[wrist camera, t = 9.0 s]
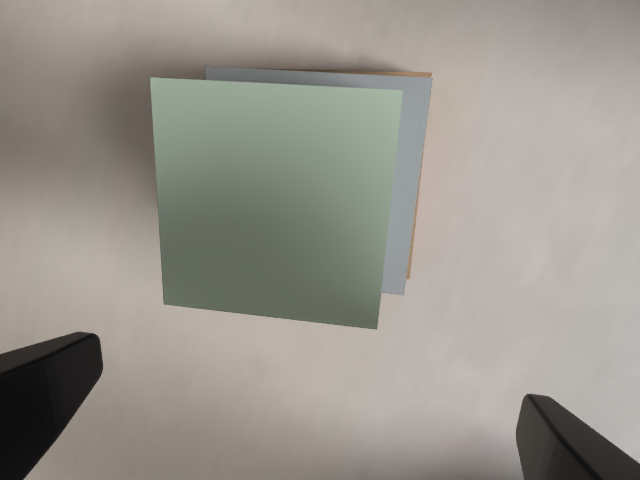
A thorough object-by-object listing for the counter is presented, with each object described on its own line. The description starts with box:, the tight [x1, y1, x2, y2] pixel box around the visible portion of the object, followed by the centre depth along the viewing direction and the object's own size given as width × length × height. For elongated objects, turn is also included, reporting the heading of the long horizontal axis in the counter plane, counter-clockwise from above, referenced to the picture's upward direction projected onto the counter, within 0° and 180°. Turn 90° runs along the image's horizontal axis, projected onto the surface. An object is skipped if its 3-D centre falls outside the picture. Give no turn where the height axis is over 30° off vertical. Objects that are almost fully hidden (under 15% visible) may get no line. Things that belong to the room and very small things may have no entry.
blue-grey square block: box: [205, 66, 433, 295], centre depth 15 cm, size 7×7×3 cm
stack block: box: [150, 77, 403, 329], centre depth 11 cm, size 5×5×5 cm
